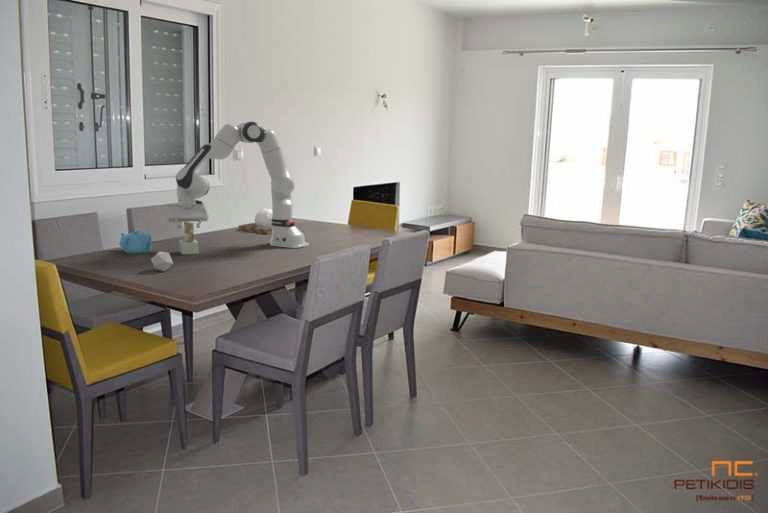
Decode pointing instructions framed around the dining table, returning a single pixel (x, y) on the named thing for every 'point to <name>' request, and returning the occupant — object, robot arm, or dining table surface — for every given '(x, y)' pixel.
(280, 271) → the dining table surface
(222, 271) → the dining table surface
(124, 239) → the teapot
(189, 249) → the sage cube
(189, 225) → the beech block
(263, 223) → the geodesic sphere
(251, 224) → the wooden rectangular frame
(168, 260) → the die
